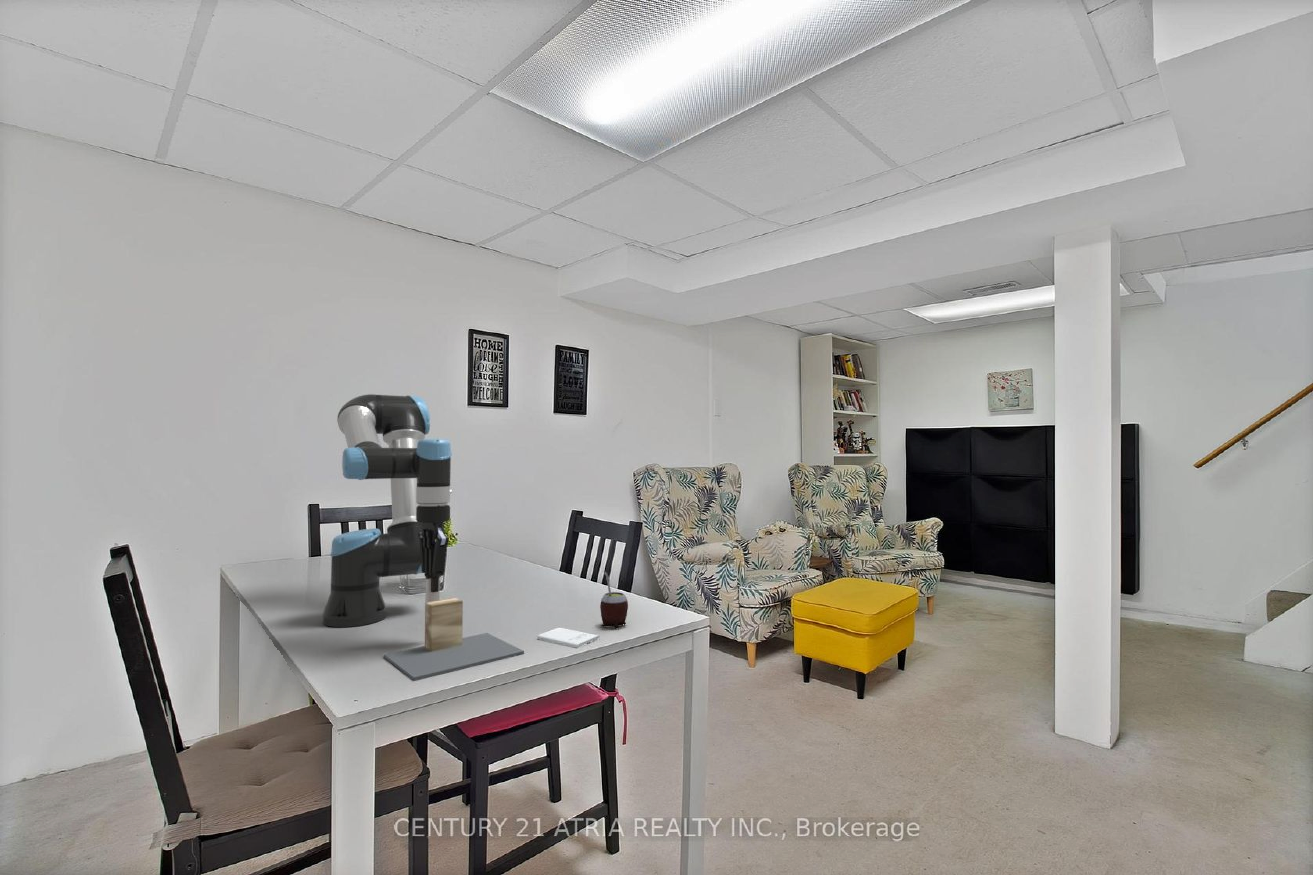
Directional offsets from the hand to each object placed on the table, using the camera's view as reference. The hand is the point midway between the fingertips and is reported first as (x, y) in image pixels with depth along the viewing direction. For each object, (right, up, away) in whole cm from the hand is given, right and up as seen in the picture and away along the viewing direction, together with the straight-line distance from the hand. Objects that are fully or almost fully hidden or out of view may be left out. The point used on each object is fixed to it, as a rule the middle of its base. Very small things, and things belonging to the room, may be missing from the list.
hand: (432, 605), depth 142 cm
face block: (+4, -8, -5) cm, 10 cm away
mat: (+8, -8, -10) cm, 15 cm away
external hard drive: (+32, -10, +2) cm, 33 cm away
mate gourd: (+42, -9, +13) cm, 45 cm away
